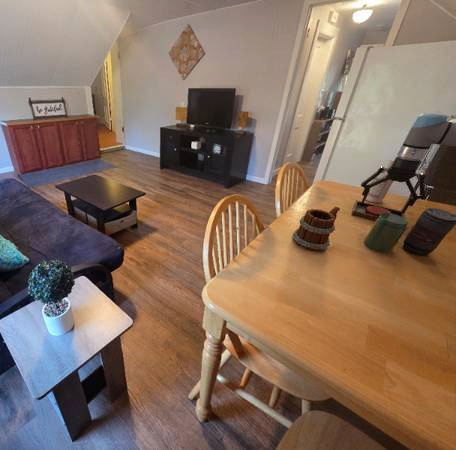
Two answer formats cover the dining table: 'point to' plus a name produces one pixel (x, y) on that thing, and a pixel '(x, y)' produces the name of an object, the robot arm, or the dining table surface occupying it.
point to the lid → (376, 211)
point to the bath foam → (380, 187)
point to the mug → (315, 229)
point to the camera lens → (429, 231)
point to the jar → (386, 232)
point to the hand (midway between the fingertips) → (381, 207)
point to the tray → (360, 212)
